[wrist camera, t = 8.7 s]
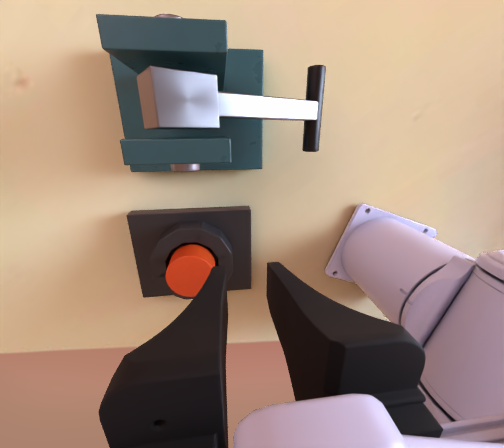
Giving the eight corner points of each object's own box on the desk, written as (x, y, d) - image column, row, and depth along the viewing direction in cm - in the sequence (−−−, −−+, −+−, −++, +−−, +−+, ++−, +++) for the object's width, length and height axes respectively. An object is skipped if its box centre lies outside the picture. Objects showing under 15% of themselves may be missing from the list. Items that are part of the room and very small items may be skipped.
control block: (249, 205, 21) (253, 216, 19) (249, 281, 24) (253, 301, 21) (131, 210, 20) (117, 223, 17) (146, 289, 23) (136, 311, 20)
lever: (308, 71, 16) (338, 64, 14) (302, 150, 18) (329, 151, 16) (130, 37, 10) (143, 16, 8) (148, 159, 12) (163, 164, 10)
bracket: (260, 54, 17) (305, -30, 8) (259, 167, 20) (292, 194, 11) (115, 50, 16) (-16, -54, 7) (135, 169, 19) (60, 203, 10)
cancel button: (213, 242, 19) (213, 254, 18) (216, 280, 21) (215, 295, 19) (167, 245, 19) (162, 257, 17) (173, 283, 20) (168, 299, 18)
